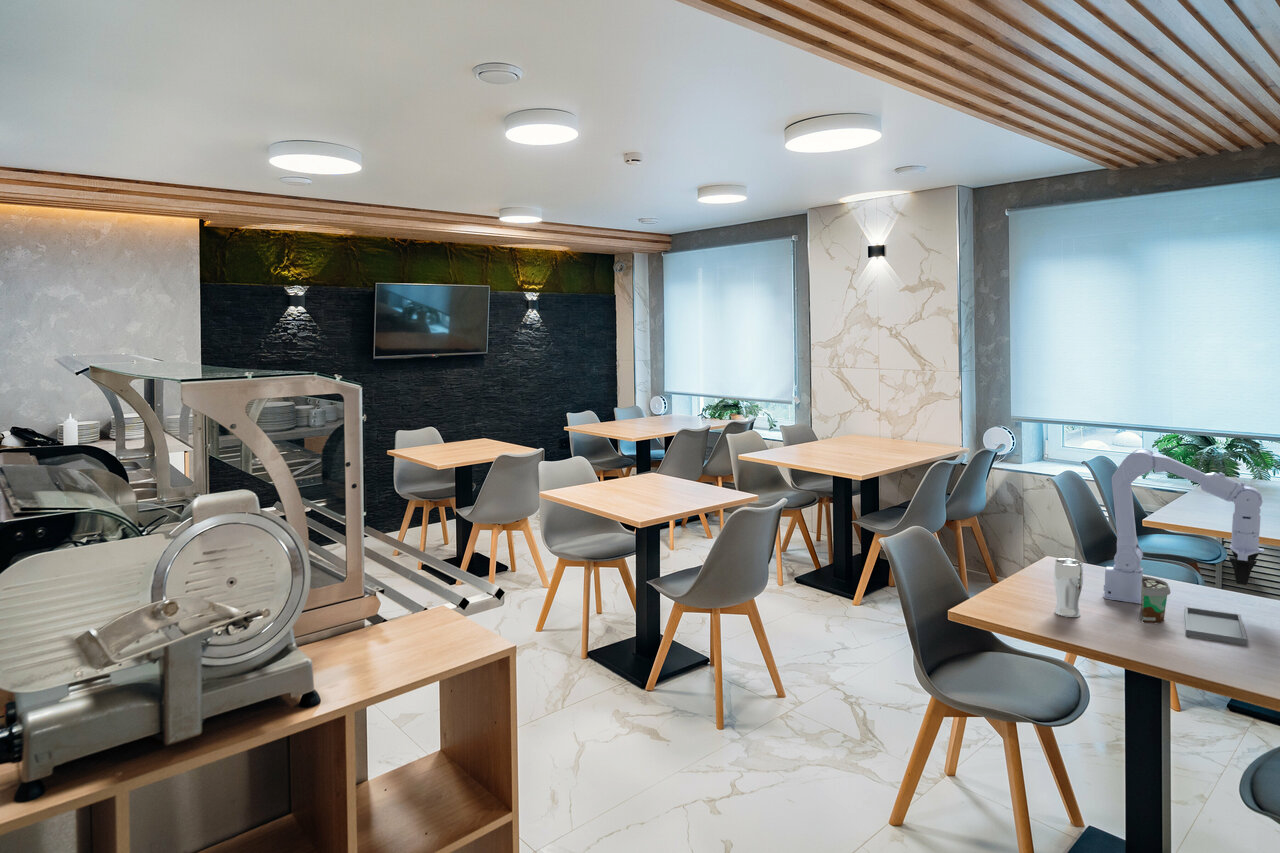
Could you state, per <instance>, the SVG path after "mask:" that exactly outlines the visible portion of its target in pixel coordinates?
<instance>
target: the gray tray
mask: <svg viewBox="0 0 1280 853" xmlns="http://www.w3.org/2000/svg"><path fill="white" fill-rule="evenodd" d="M1184 628H1185V630H1184V631H1185V636H1186V637H1193V638H1199V639H1202V640H1203V639H1204V640H1211V641H1218V642H1222V641H1224V642H1223V643H1228V642H1229V644H1234V643H1235V644H1236V645H1241V646H1247V642H1248V641H1247V640H1248V639H1247V635H1246V630H1245V627H1244V623H1243V618H1242V614H1239V613H1233V612H1232V613H1231V612H1225V611H1220V610H1219V611H1218V610H1211V609H1203V608H1197V607H1190V606H1184Z"/></svg>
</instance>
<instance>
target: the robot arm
mask: <svg viewBox="0 0 1280 853" xmlns="http://www.w3.org/2000/svg"><path fill="white" fill-rule="evenodd" d="M1152 469H1154V471H1153V472H1154V473H1163V472H1164V473H1165V472H1167V473H1170V474H1174V475H1176V476H1178V477H1181V478H1183V479H1186V480H1187V481H1191V482H1193V483H1196V484H1199V486H1200V488H1201V490H1202V491H1203V492H1206V493H1208V494H1210V495H1212V496H1214V497H1217V498H1219V499H1222V500H1224V501H1226V502H1232V503H1233V504H1234V512H1233V513H1232V524H1231V538H1230V539H1231V540H1230V545H1229V549H1230V550H1231V553H1232V554H1233V556H1231V555H1230V556H1229V557H1228V559H1229V562H1230V564H1231V566H1232V568H1233V572H1234V577H1235V583H1236V584H1237V585H1242V586H1243V585H1244V586H1247V585H1248V582H1249V580H1250V576H1251V572H1252V570H1253V568H1254V567H1255V566H1256V564H1257V562H1258V561H1257V560H1256V559H1257V557H1258V556H1259V555H1260V554H1259V553H1261V554H1262V553H1265V549H1264V548H1260V546H1259V544H1260V533H1261V532H1260V531H1261V515H1260V514H1261V508H1260V507H1262V505H1263V499H1262V493H1261V491H1260V490H1259V489H1257V488H1256V487H1254V486H1253V485H1251V484H1246V482H1243V481H1240V482H1238V481H1236V480H1234V479H1231V478H1229V477H1227V476H1226V474H1225V473H1223V472H1221V471H1220V472H1219V473H1217V472H1215V471H1214V472H1208V473H1205V472H1202V471H1201V470H1199V469H1196V468H1194V467H1191V466H1189V465H1187V464H1185V463H1183V462H1181V461H1179V460H1176V459H1174V458H1172V457H1170V456H1167V455H1164V454H1162V453H1159V452H1157V451H1154V452H1153V451H1151V450H1150V449H1147V448H1138V449H1136V450H1134V451H1132V452H1131V453H1130V454H1128V455H1126V457H1125V458H1124V459H1123V460H1122V462H1121V464H1120V465H1119V466H1118V467H1117V468H1116V470H1115V472H1114V473H1113V474H1112V476H1111V489H1112V496H1113V498H1112V499H1113V506H1114V517H1115V518H1114V519H1115V526H1116V529H1115V530H1116V538H1117V539H1116V553H1115V555H1114V556H1113V561H1114V564H1113V566H1105V573H1104V584H1103V591H1104V594H1103V595H1104V597H1103V598H1104V599H1106V600H1112V601H1118V602H1119V601H1120V602H1126V603H1134V604H1140V605H1141V590H1142V576H1144V568H1143V567H1142V566H1141V561H1142V560H1143V558H1144V552H1143V549H1142V548H1141V547H1140V545H1139V540H1138V535H1137V530H1136V528H1137V527H1136V520H1135V518H1136V517H1135V506H1134V496H1133V489H1132V488H1133V487H1132V483H1133V482H1134V481H1135V480H1137V478H1138V477H1141V476H1143V475H1146V474H1148V473H1150V472H1151V471H1152Z"/></svg>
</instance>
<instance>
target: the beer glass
mask: <svg viewBox="0 0 1280 853" xmlns="http://www.w3.org/2000/svg"><path fill="white" fill-rule="evenodd" d="M1083 568H1084V566H1083V562H1082V561H1080V560H1077V559H1073V558H1057V559H1055V561H1054V569H1053V570H1054V572H1053V581H1054V584H1053V585H1054V589H1055V594H1056V595H1055V596H1056V604H1055V610H1054V614H1056V615H1057V614H1058V615H1057V616H1059V615H1061V616H1060V617H1062V616H1065V617H1064V618H1067V617H1077V618H1080V616H1081V613H1080V607H1079V606H1080V605H1079V603H1080V602H1079V601H1080V598H1081V593H1082V588H1083V583H1084V569H1083Z"/></svg>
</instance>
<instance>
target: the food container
mask: <svg viewBox="0 0 1280 853" xmlns="http://www.w3.org/2000/svg"><path fill="white" fill-rule="evenodd" d="M1170 594H1171V588H1170V586H1169V583H1168V582H1167V581H1164V580H1162V579H1160V578H1159V579H1158V578H1154V577H1151V576H1146V575H1143V576H1142V590H1141V604H1140V616H1141V621H1142V623H1143V622H1144V623H1143V624H1161V623H1164V621H1165V614H1166V606H1167V601H1168V596H1169V595H1170Z"/></svg>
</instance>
